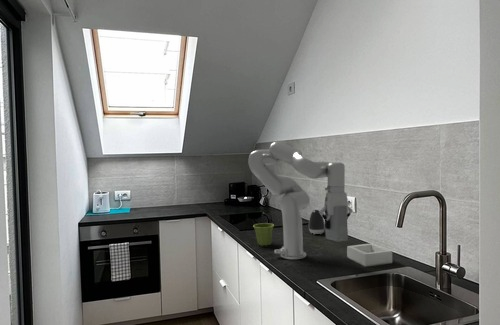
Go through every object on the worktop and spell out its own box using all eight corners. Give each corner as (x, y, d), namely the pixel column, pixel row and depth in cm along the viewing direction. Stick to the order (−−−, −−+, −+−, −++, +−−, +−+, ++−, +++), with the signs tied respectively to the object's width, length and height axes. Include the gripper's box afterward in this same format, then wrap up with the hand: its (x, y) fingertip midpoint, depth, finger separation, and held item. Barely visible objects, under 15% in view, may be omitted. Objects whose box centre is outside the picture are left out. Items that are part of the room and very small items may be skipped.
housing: (365, 266, 155) (365, 254, 155) (347, 257, 170) (346, 246, 169) (392, 263, 159) (392, 251, 159) (372, 254, 173) (372, 243, 173)
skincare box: (348, 240, 158) (349, 205, 158) (336, 242, 155) (337, 207, 154) (334, 236, 166) (335, 203, 165) (323, 238, 162) (324, 204, 161)
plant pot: (260, 241, 206) (259, 222, 206) (278, 243, 200) (277, 224, 200) (249, 246, 196) (249, 226, 196) (268, 248, 190) (267, 228, 190)
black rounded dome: (324, 231, 226) (323, 208, 225) (326, 235, 215) (325, 210, 215) (308, 232, 227) (307, 208, 226) (309, 235, 216) (308, 211, 216)
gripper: (322, 191, 153) (322, 231, 154) (357, 189, 158) (357, 228, 159) (314, 189, 161) (314, 227, 161) (348, 188, 165) (348, 225, 166)
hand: (335, 227), depth 160 cm, fingers closed on skincare box, 7 cm apart
